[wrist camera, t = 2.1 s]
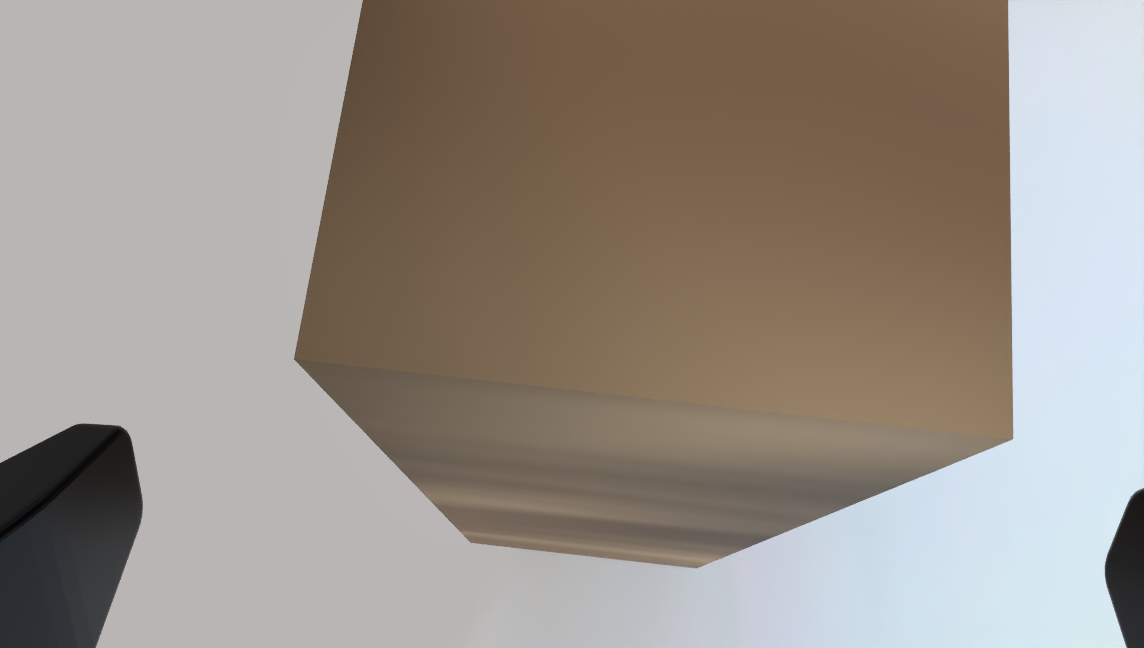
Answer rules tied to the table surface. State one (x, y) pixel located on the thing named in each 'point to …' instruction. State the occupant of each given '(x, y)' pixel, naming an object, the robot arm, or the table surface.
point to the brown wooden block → (667, 261)
